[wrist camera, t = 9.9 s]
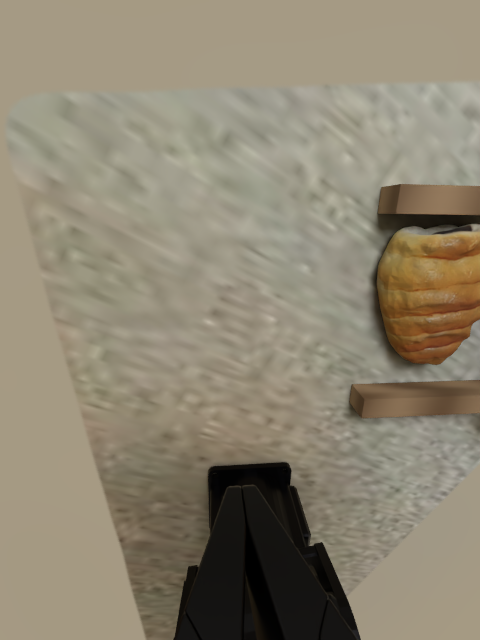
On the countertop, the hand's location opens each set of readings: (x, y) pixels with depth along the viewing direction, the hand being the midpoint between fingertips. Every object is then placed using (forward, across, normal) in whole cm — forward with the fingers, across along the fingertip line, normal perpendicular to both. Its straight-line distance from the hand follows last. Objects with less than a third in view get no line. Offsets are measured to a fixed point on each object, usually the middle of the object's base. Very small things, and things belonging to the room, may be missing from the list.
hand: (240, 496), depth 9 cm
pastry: (+13, -14, -4) cm, 19 cm away
